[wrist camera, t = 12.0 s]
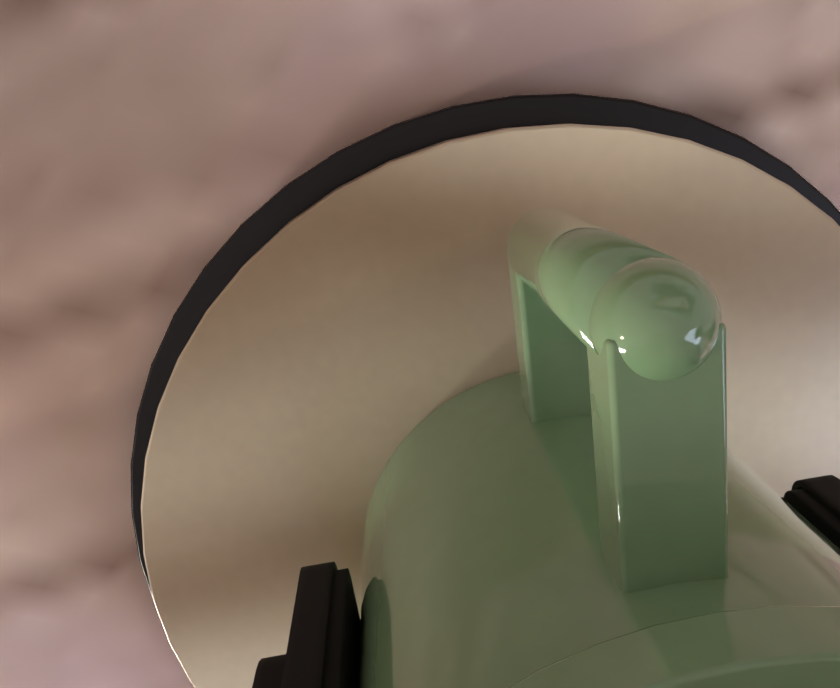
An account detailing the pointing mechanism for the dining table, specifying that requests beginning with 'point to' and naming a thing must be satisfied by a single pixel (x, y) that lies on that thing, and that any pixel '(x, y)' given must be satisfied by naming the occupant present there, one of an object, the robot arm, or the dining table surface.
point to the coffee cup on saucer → (516, 424)
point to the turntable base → (395, 145)
